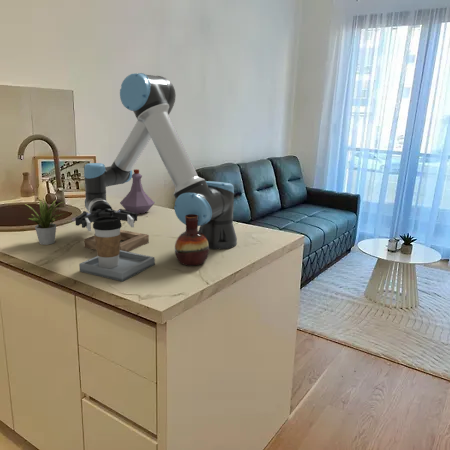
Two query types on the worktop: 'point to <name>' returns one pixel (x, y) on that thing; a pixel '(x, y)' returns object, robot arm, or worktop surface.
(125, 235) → the square wooden frame
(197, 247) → the vase
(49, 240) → the house plant
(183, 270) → the worktop surface
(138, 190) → the flask
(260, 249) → the worktop surface
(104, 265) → the coffee cup
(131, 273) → the tray
